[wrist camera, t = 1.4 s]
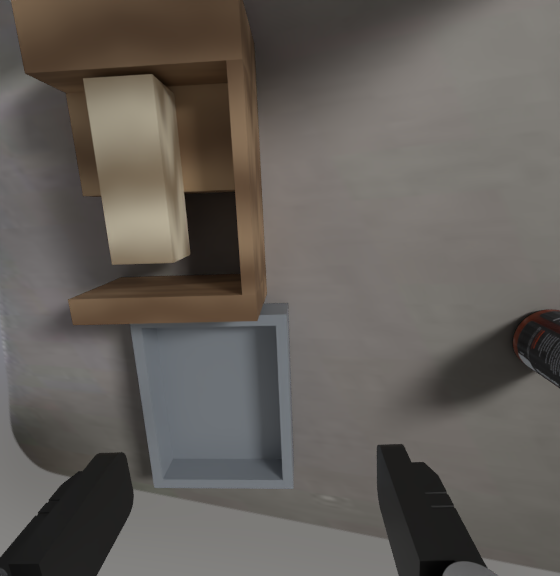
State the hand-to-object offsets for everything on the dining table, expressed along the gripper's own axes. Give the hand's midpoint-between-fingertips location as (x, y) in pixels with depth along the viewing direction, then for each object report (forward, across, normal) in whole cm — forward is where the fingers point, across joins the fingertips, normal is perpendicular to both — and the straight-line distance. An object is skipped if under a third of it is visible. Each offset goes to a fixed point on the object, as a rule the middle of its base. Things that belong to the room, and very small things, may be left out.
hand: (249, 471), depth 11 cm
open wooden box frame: (+23, +8, -11) cm, 26 cm away
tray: (+23, +7, +10) cm, 26 cm away
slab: (+19, +9, -11) cm, 23 cm away
